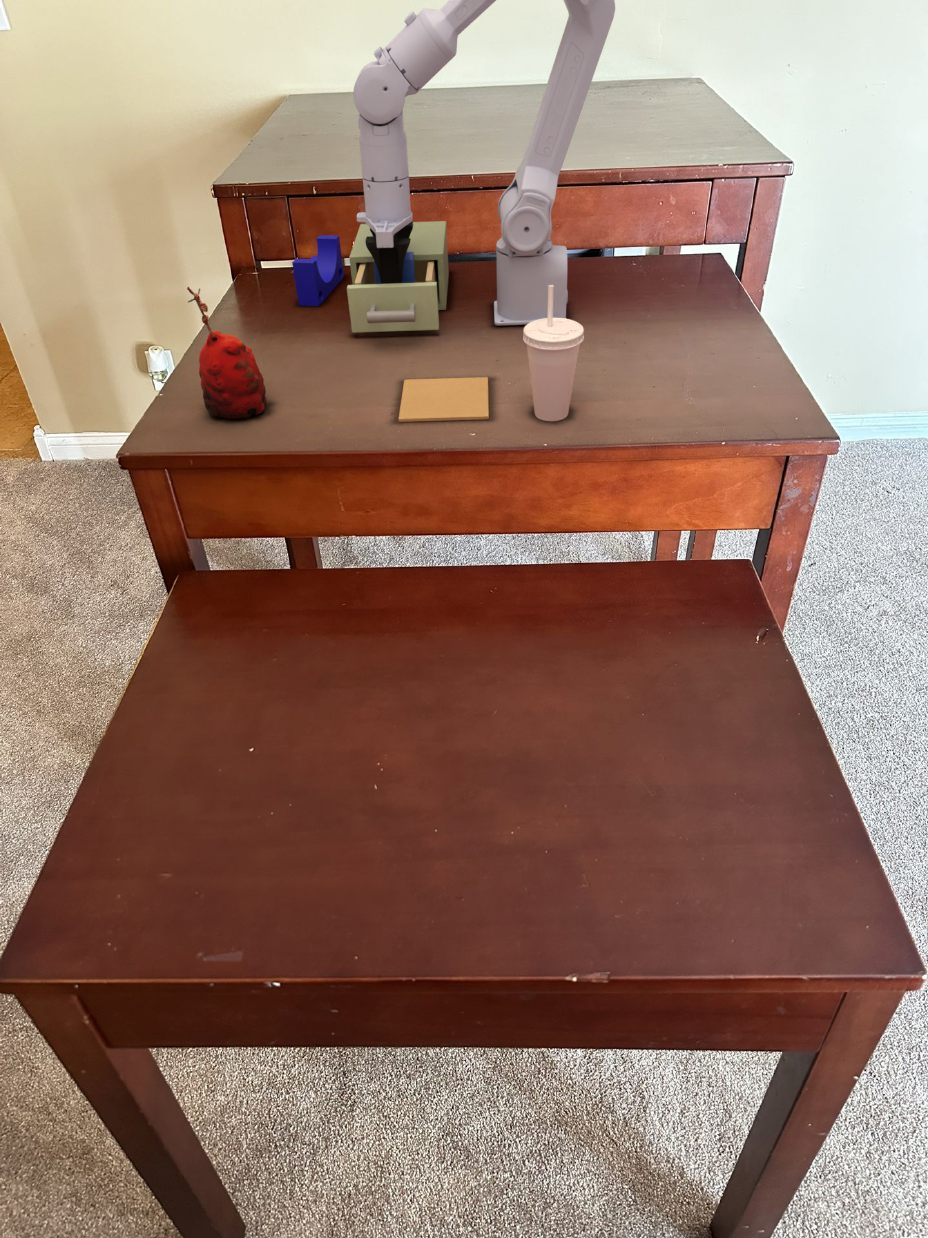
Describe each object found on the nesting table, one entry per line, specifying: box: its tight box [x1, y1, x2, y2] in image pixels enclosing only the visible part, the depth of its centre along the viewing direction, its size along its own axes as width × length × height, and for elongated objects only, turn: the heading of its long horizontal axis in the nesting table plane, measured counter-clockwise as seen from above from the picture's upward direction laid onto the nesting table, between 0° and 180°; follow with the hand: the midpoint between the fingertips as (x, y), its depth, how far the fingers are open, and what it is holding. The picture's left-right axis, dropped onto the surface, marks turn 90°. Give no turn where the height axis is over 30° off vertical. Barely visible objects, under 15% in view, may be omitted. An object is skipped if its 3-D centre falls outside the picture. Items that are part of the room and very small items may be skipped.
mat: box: [398, 376, 490, 423], centre depth 103 cm, size 10×10×1 cm
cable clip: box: [291, 234, 345, 307], centre depth 130 cm, size 12×4×6 cm, turn 168°
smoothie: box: [522, 285, 585, 422], centre depth 95 cm, size 6×6×14 cm
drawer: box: [346, 260, 440, 333], centre depth 119 cm, size 18×11×6 cm, turn 179°
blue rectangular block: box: [374, 252, 416, 284], centre depth 119 cm, size 5×3×6 cm
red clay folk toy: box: [186, 286, 267, 420], centre depth 98 cm, size 8×7×15 cm
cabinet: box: [348, 220, 450, 311], centre depth 128 cm, size 15×13×8 cm
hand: (393, 286), depth 119 cm, fingers open, 4 cm apart
